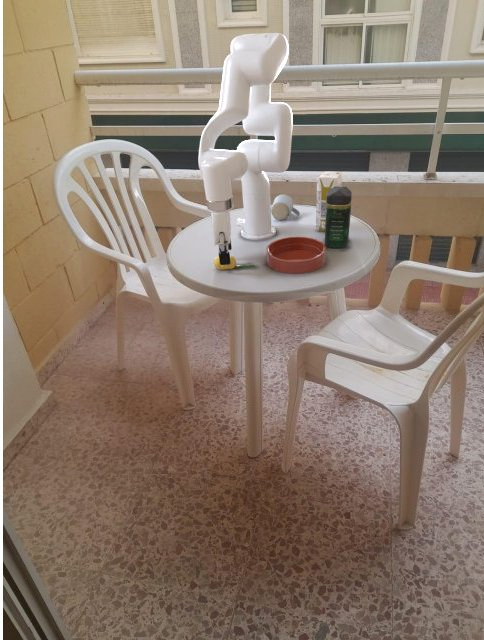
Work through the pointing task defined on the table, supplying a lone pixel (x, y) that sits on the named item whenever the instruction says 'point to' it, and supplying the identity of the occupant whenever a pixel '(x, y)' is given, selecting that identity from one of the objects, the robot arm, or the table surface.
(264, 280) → the table surface
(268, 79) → the robot arm
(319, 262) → the bowl
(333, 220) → the coffee jar
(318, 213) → the juice carton
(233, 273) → the table surface
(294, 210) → the ceramic mug
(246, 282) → the table surface
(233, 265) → the tulip
